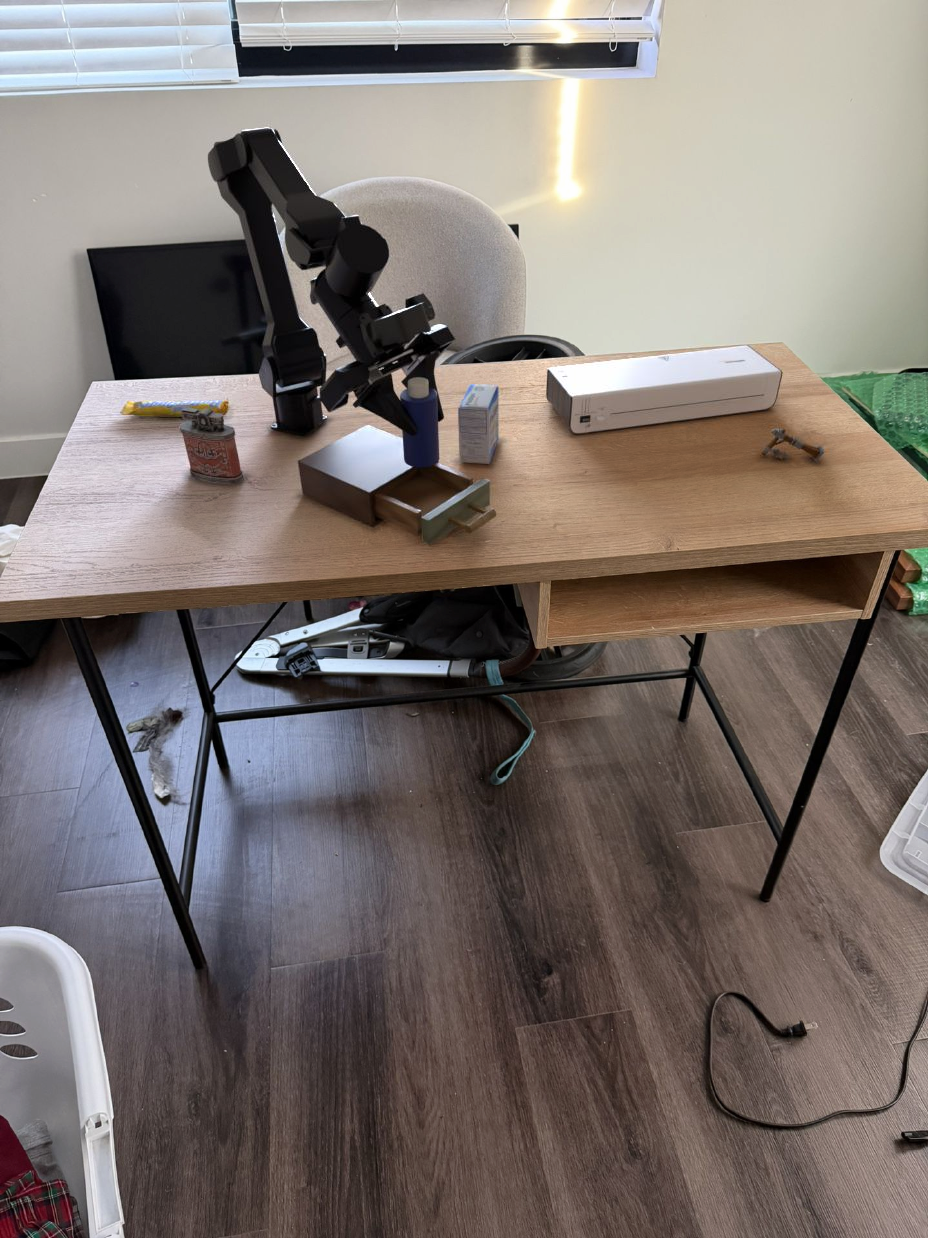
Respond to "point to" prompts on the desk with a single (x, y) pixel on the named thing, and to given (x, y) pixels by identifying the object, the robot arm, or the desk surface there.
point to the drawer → (434, 502)
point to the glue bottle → (421, 424)
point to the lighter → (210, 447)
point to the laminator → (662, 389)
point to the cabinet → (354, 472)
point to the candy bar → (171, 408)
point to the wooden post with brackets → (780, 434)
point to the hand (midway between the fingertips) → (428, 427)
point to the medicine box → (478, 423)
